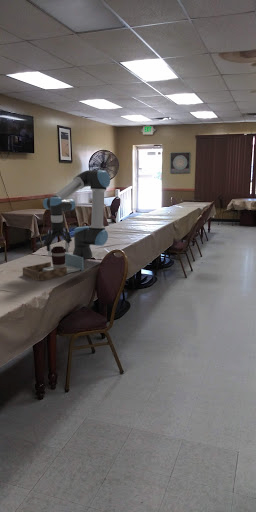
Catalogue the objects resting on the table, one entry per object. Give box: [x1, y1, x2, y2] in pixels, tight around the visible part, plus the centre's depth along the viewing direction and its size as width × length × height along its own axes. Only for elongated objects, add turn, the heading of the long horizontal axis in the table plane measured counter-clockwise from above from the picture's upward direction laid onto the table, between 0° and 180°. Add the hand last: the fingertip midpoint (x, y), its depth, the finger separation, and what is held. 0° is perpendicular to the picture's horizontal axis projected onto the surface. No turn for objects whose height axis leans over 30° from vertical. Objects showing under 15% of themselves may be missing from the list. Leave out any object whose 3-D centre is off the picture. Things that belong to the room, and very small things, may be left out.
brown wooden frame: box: [22, 261, 68, 282], centre depth 250 cm, size 20×19×5 cm
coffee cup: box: [51, 246, 67, 269], centre depth 256 cm, size 10×10×15 cm
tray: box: [42, 252, 85, 274], centre depth 258 cm, size 21×19×9 cm
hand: (58, 254), depth 255 cm, fingers open, 13 cm apart
